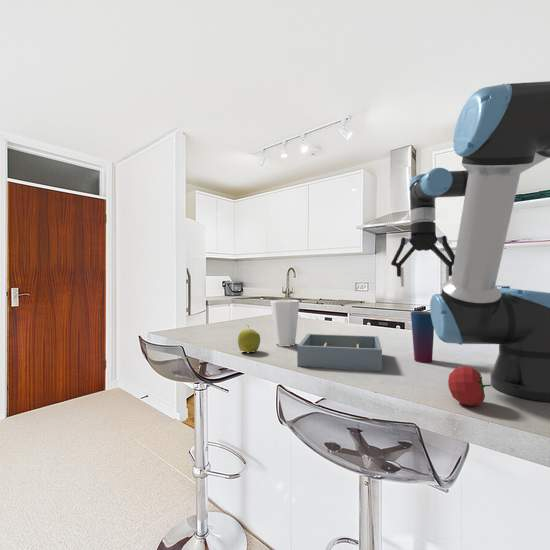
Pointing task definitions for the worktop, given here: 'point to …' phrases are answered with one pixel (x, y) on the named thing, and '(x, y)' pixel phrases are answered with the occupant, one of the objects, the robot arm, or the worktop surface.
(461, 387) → the tomato
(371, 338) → the walled box
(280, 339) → the cup
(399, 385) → the worktop surface
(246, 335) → the apple
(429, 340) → the cup
